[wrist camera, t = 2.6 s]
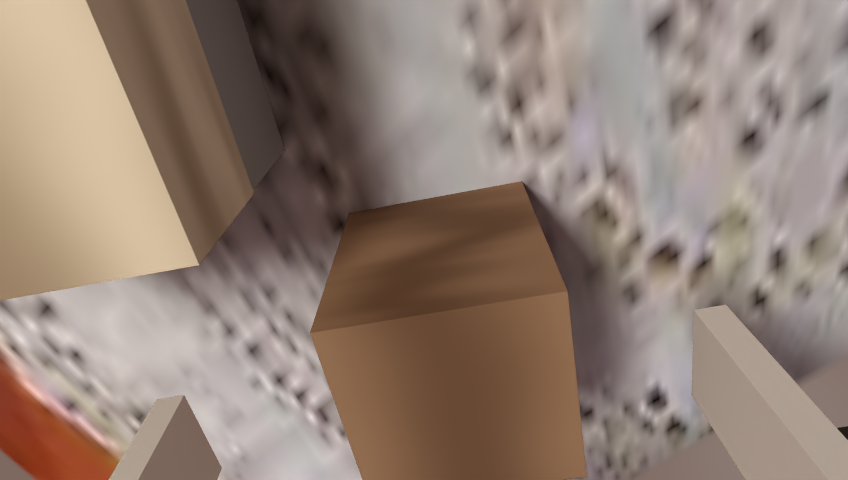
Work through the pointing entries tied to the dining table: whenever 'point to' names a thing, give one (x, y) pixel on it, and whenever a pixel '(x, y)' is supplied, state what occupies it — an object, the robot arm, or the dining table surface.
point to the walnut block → (452, 342)
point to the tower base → (238, 83)
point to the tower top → (109, 144)
